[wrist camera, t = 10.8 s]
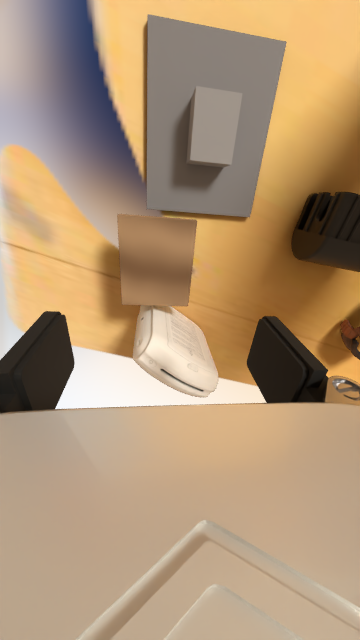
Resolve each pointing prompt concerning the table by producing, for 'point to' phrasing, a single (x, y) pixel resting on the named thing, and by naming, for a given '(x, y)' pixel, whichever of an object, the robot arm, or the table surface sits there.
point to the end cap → (329, 231)
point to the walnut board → (155, 259)
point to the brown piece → (350, 337)
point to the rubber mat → (171, 113)
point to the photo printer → (174, 351)
